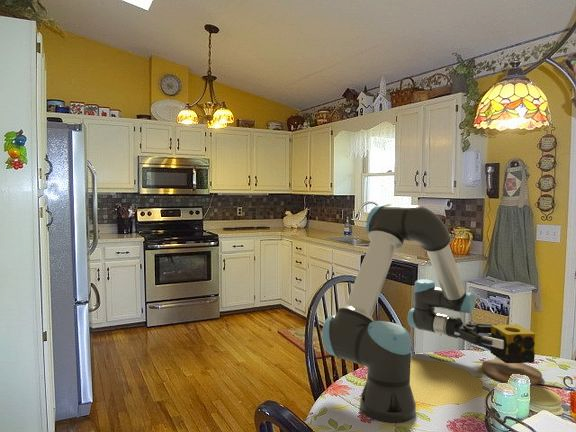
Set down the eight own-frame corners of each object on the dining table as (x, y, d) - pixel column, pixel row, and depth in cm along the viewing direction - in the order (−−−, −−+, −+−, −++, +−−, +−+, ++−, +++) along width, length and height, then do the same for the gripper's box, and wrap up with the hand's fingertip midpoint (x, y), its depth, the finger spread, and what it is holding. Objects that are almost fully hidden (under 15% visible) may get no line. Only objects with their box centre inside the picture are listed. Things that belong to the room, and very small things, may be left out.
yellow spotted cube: (516, 352, 150) (517, 324, 149) (535, 363, 140) (537, 333, 139) (488, 352, 149) (490, 324, 149) (505, 364, 139) (507, 334, 139)
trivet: (533, 391, 132) (533, 386, 132) (473, 373, 145) (473, 369, 144) (548, 374, 145) (548, 369, 145) (492, 359, 158) (492, 355, 157)
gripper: (461, 328, 169) (520, 341, 154) (433, 343, 151) (497, 360, 136) (462, 309, 168) (521, 321, 154) (434, 323, 150) (498, 337, 136)
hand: (510, 339), depth 145 cm, fingers closed on yellow spotted cube, 13 cm apart
